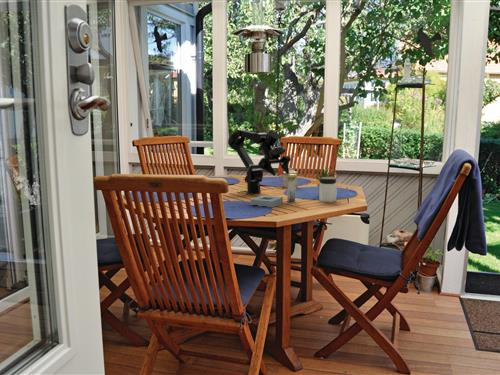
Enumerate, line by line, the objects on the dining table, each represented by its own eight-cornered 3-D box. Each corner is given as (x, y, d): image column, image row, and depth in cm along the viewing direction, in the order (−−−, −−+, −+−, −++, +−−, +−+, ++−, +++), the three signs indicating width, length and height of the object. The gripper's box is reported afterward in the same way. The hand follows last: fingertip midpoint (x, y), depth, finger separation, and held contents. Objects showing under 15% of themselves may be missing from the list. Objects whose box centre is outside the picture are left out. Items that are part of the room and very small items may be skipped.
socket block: (250, 205, 237) (250, 199, 236) (261, 201, 247) (261, 195, 247) (272, 207, 231) (272, 201, 231) (282, 203, 241) (282, 197, 241)
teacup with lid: (296, 185, 296) (296, 167, 294) (298, 188, 287) (298, 168, 285) (277, 186, 295) (277, 167, 293) (278, 188, 286) (278, 169, 284)
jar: (317, 201, 244) (317, 178, 242) (320, 198, 252) (321, 176, 250) (334, 202, 241) (335, 179, 239) (337, 200, 249) (338, 177, 247)
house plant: (326, 199, 250) (327, 168, 248) (305, 196, 260) (305, 166, 257) (341, 195, 261) (341, 165, 258) (320, 192, 270) (320, 164, 267)
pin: (284, 202, 245) (284, 174, 242) (288, 200, 249) (288, 173, 247) (294, 202, 242) (294, 175, 240) (298, 201, 247) (298, 174, 244)
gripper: (261, 142, 246) (274, 166, 239) (289, 140, 257) (302, 163, 250) (252, 156, 254) (265, 179, 247) (279, 154, 264) (292, 176, 257)
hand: (281, 174), depth 250 cm, fingers open, 9 cm apart
